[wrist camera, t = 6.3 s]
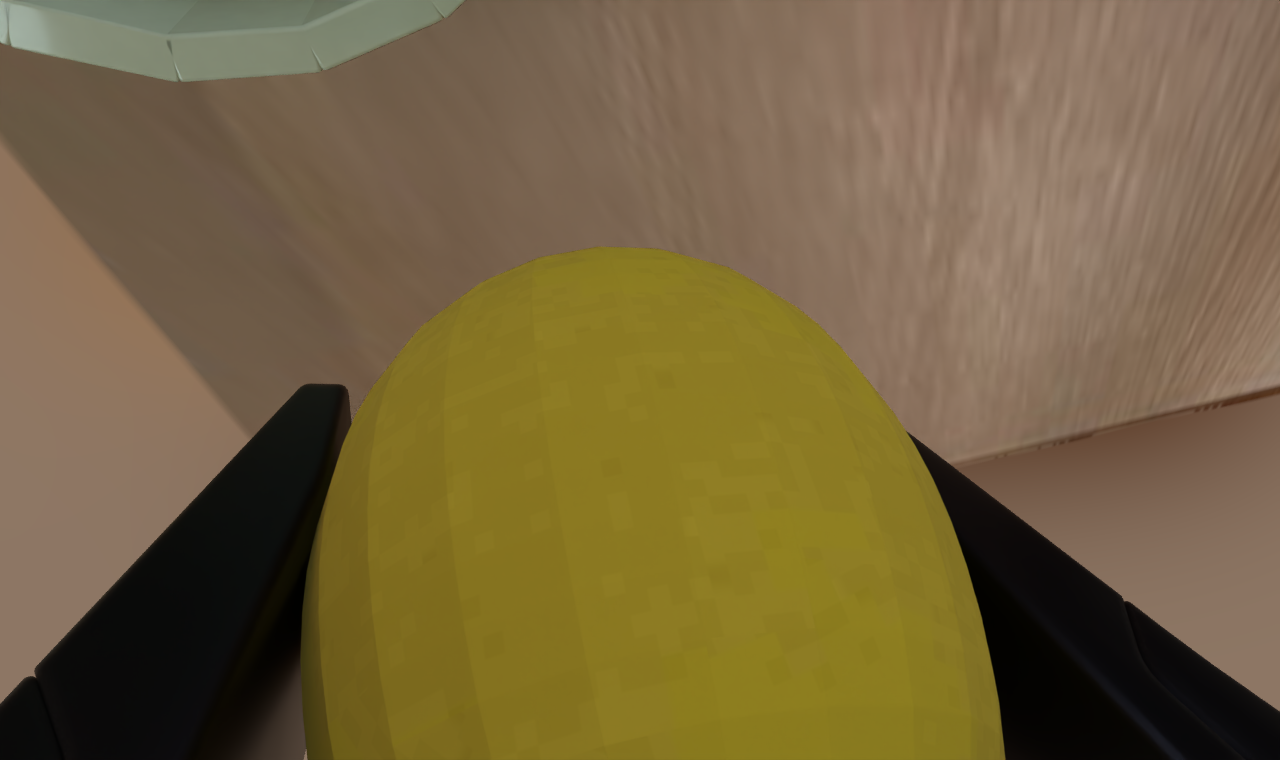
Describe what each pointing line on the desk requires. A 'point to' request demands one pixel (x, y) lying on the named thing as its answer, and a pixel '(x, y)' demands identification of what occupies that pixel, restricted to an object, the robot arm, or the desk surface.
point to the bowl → (214, 33)
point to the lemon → (636, 539)
